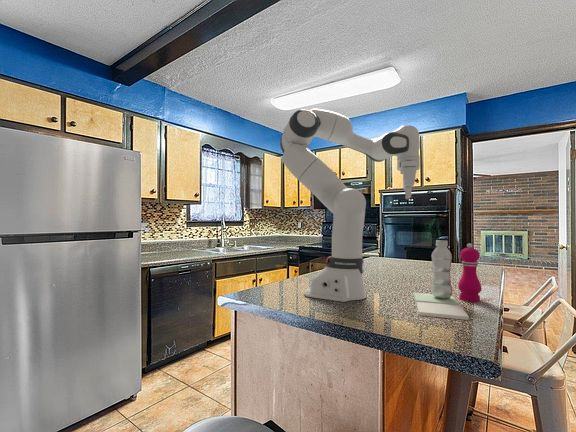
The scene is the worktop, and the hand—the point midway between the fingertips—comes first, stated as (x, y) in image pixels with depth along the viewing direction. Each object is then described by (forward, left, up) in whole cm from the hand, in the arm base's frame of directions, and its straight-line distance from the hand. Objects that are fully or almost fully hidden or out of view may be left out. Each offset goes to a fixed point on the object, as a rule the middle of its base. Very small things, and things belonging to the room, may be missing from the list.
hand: (408, 198), depth 131 cm
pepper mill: (+20, -14, -37) cm, 45 cm away
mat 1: (+8, -20, -37) cm, 43 cm away
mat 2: (+8, -34, -37) cm, 51 cm away
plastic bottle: (+10, -20, -36) cm, 42 cm away
